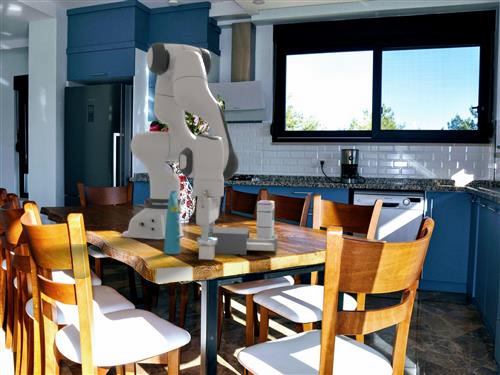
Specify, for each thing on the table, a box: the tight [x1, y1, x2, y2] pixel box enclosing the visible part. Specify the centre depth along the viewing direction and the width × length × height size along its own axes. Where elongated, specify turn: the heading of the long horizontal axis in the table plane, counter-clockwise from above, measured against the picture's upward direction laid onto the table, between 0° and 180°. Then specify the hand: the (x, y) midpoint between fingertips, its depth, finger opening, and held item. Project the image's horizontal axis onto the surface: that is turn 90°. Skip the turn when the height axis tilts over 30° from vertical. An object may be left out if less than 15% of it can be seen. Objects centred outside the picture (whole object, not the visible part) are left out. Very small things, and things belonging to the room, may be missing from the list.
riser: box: [198, 245, 216, 260], centre depth 133 cm, size 4×4×4 cm
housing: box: [200, 226, 250, 256], centre depth 147 cm, size 14×14×6 cm
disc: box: [196, 236, 218, 246], centre depth 133 cm, size 6×6×2 cm
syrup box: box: [256, 200, 275, 239], centre depth 170 cm, size 6×6×14 cm
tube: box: [163, 190, 181, 255], centre depth 138 cm, size 7×5×19 cm, turn 3°
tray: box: [246, 233, 279, 252], centre depth 146 cm, size 13×11×4 cm
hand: (207, 237), depth 132 cm, fingers open, 8 cm apart
